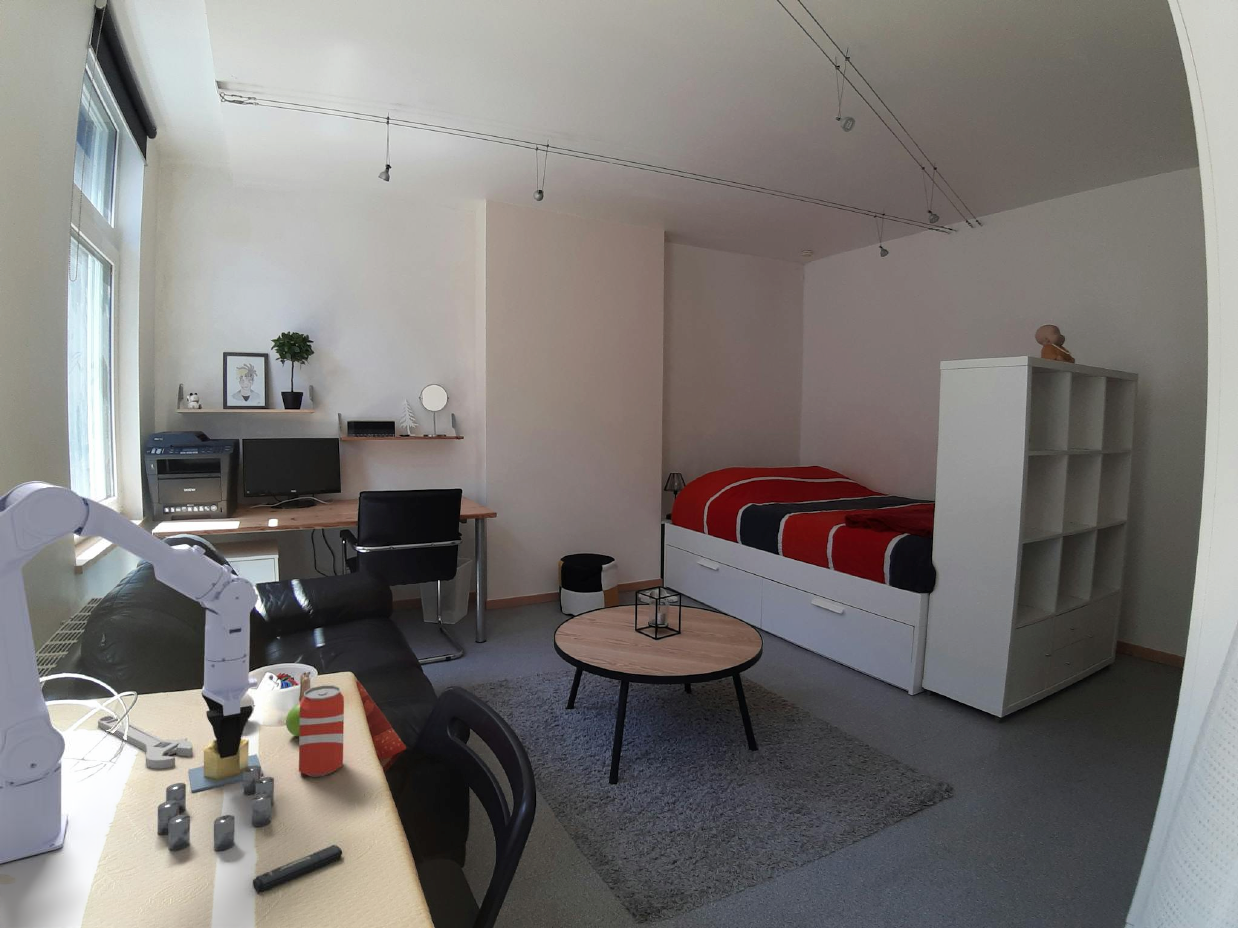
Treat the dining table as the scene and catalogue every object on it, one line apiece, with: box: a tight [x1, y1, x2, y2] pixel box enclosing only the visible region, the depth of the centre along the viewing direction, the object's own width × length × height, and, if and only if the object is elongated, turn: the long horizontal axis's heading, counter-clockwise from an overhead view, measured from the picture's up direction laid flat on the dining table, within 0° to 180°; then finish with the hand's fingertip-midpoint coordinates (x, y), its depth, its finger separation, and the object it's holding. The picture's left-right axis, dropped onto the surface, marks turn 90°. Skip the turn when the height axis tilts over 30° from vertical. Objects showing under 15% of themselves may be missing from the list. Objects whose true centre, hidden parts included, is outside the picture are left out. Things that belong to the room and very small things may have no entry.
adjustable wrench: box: [97, 714, 194, 769], centre depth 108 cm, size 25×6×2 cm, turn 55°
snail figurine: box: [285, 670, 312, 737], centre depth 111 cm, size 5×6×12 cm
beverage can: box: [298, 684, 345, 777], centre depth 100 cm, size 6×6×12 cm
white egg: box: [240, 692, 256, 719], centre depth 115 cm, size 8×6×6 cm
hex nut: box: [203, 737, 250, 781], centre depth 98 cm, size 6×5×4 cm
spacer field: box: [157, 765, 275, 852], centre depth 86 cm, size 13×14×3 cm
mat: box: [188, 754, 264, 793], centre depth 98 cm, size 9×7×1 cm
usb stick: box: [252, 844, 343, 894], centre depth 77 cm, size 10×3×2 cm, turn 135°
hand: (225, 745), depth 98 cm, fingers open, 7 cm apart
